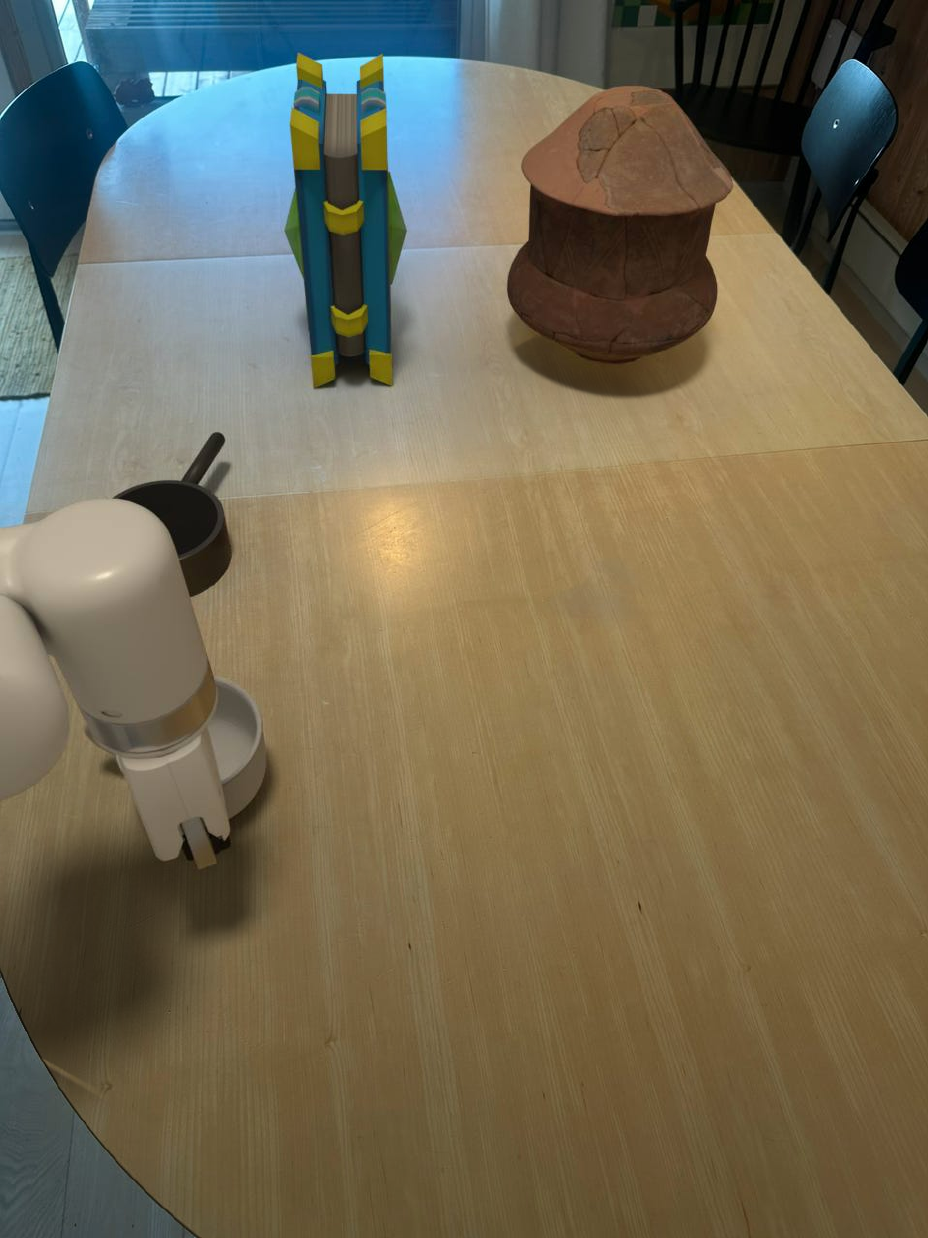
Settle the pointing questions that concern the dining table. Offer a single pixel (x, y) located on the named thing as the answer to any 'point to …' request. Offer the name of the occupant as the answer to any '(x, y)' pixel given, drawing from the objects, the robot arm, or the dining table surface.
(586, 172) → the pottery vessel
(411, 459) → the dining table surface
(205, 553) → the milk pan
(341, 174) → the decorative book
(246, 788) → the teacup
